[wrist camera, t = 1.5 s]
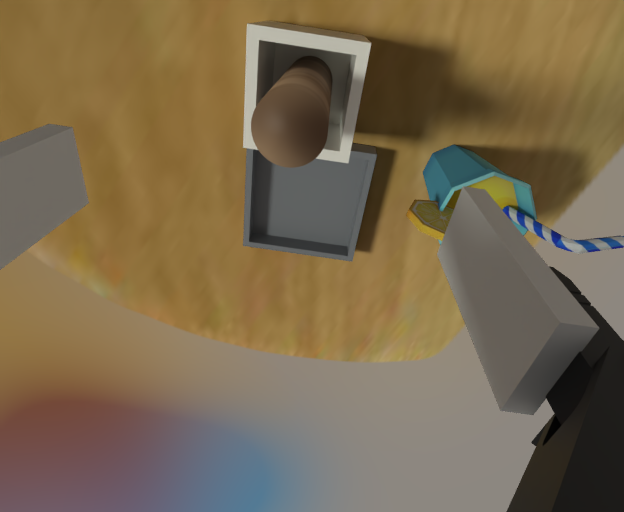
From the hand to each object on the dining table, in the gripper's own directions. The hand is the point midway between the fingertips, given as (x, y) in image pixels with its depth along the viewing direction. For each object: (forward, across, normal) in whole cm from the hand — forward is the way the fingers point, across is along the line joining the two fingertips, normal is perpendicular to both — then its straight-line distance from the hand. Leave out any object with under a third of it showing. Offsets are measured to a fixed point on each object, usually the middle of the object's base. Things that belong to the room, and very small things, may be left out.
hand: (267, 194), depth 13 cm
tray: (+25, +1, -11) cm, 27 cm away
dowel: (+24, 0, 0) cm, 24 cm away
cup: (+25, +16, -6) cm, 30 cm away
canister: (+25, 0, 0) cm, 25 cm away
